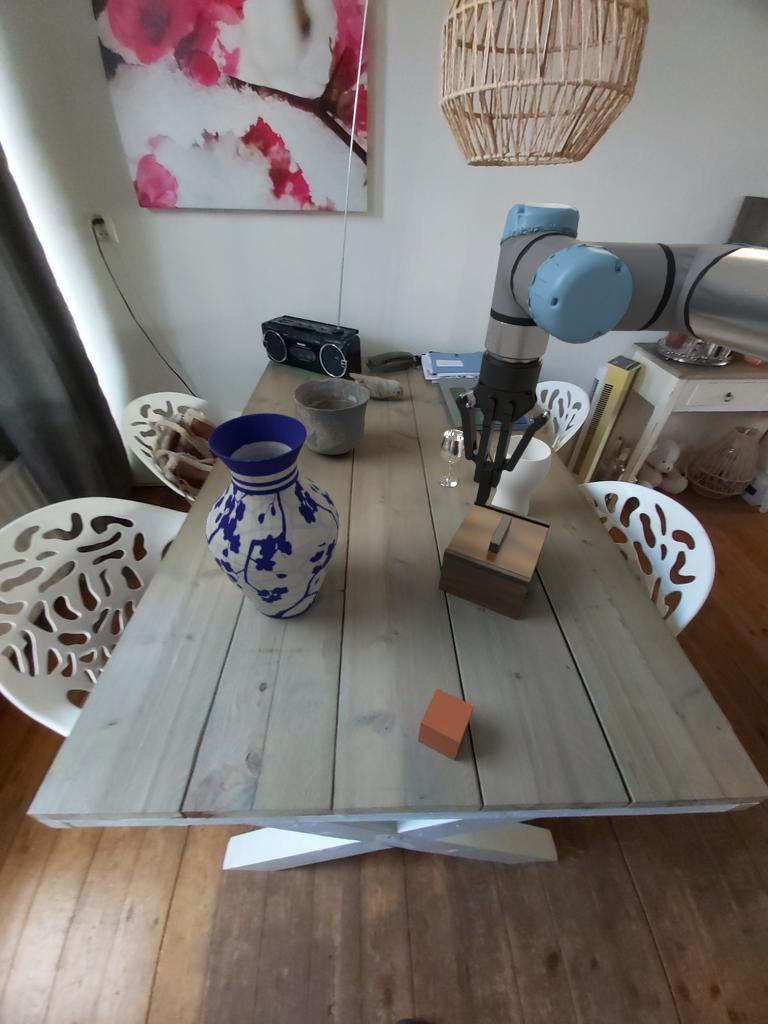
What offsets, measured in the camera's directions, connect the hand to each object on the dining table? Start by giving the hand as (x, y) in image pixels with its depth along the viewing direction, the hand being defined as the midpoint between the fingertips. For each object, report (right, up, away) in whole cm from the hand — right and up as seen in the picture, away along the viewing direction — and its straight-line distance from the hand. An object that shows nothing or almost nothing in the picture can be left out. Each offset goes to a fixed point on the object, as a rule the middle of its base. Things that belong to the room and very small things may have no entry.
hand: (482, 499), depth 70 cm
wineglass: (-1, +5, +30) cm, 30 cm away
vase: (-32, -16, +4) cm, 36 cm away
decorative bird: (-18, +32, +63) cm, 73 cm away
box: (+3, -13, +8) cm, 16 cm away
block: (-8, -30, -14) cm, 34 cm away
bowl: (-28, +14, +40) cm, 51 cm away
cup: (+11, -1, +23) cm, 25 cm away
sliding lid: (+3, -7, +3) cm, 8 cm away
